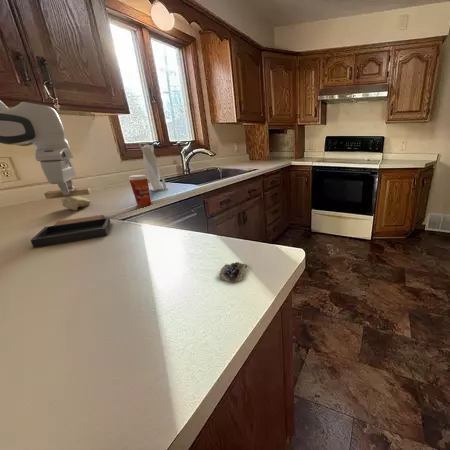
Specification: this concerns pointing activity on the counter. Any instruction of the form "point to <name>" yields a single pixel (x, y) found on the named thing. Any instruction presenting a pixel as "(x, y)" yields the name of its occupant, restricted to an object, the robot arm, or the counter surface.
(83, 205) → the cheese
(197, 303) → the counter surface
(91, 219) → the brown flat block
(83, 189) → the board
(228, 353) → the counter surface
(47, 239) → the tray
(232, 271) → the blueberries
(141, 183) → the paper cup
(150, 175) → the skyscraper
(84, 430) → the counter surface
